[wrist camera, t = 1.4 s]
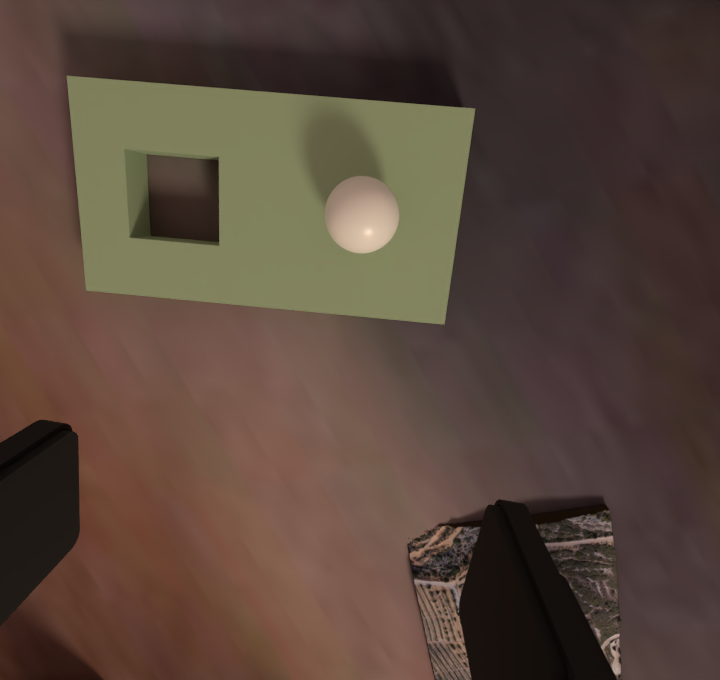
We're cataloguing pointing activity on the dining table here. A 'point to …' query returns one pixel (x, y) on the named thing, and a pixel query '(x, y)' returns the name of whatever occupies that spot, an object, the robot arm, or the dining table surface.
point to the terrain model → (570, 554)
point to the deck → (269, 196)
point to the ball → (361, 214)
